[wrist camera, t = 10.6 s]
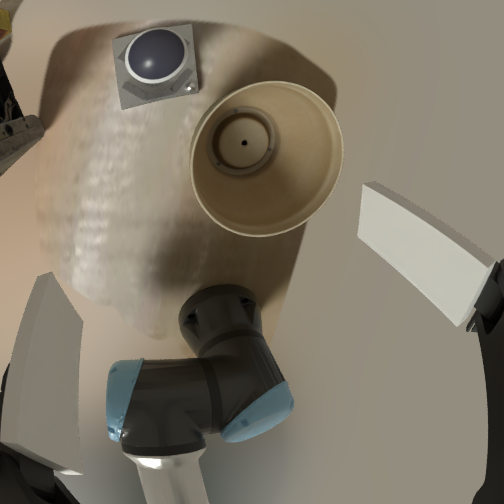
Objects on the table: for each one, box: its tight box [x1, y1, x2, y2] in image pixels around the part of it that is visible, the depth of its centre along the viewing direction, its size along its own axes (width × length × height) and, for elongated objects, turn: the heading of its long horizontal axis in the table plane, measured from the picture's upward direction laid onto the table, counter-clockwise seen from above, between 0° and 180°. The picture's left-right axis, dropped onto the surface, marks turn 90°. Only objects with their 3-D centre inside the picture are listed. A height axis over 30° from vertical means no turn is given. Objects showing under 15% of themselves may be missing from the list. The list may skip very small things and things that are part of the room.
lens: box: [125, 27, 188, 85], centre depth 19 cm, size 5×5×10 cm
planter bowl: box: [190, 81, 344, 237], centre depth 29 cm, size 16×16×11 cm
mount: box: [112, 24, 199, 110], centre depth 23 cm, size 9×9×2 cm
